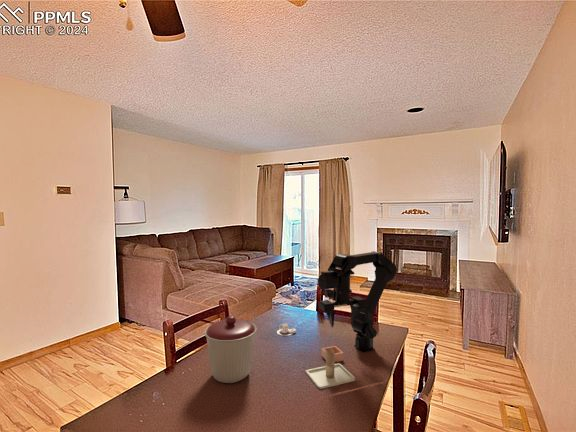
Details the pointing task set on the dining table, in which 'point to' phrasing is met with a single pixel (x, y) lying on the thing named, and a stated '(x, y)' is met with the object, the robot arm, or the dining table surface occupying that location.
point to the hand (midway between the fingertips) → (342, 325)
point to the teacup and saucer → (286, 330)
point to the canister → (230, 348)
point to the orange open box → (337, 353)
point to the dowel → (330, 363)
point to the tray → (323, 382)
